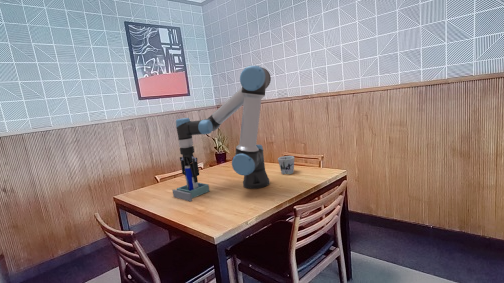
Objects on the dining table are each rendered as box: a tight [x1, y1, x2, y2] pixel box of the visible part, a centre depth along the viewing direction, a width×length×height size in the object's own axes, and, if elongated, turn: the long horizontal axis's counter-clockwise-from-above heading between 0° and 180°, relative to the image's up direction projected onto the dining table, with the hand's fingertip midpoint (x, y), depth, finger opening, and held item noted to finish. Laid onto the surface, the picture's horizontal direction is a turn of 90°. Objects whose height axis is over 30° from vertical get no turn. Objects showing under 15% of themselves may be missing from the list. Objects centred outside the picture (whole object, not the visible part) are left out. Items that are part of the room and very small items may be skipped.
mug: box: [277, 155, 295, 175], centre depth 176 cm, size 10×15×10 cm
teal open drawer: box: [176, 182, 210, 199], centre depth 155 cm, size 13×13×4 cm
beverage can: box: [185, 165, 196, 191], centre depth 154 cm, size 5×5×15 cm
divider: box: [172, 188, 193, 202], centre depth 148 cm, size 16×1×4 cm, turn 47°
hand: (192, 187), depth 155 cm, fingers open, 5 cm apart
